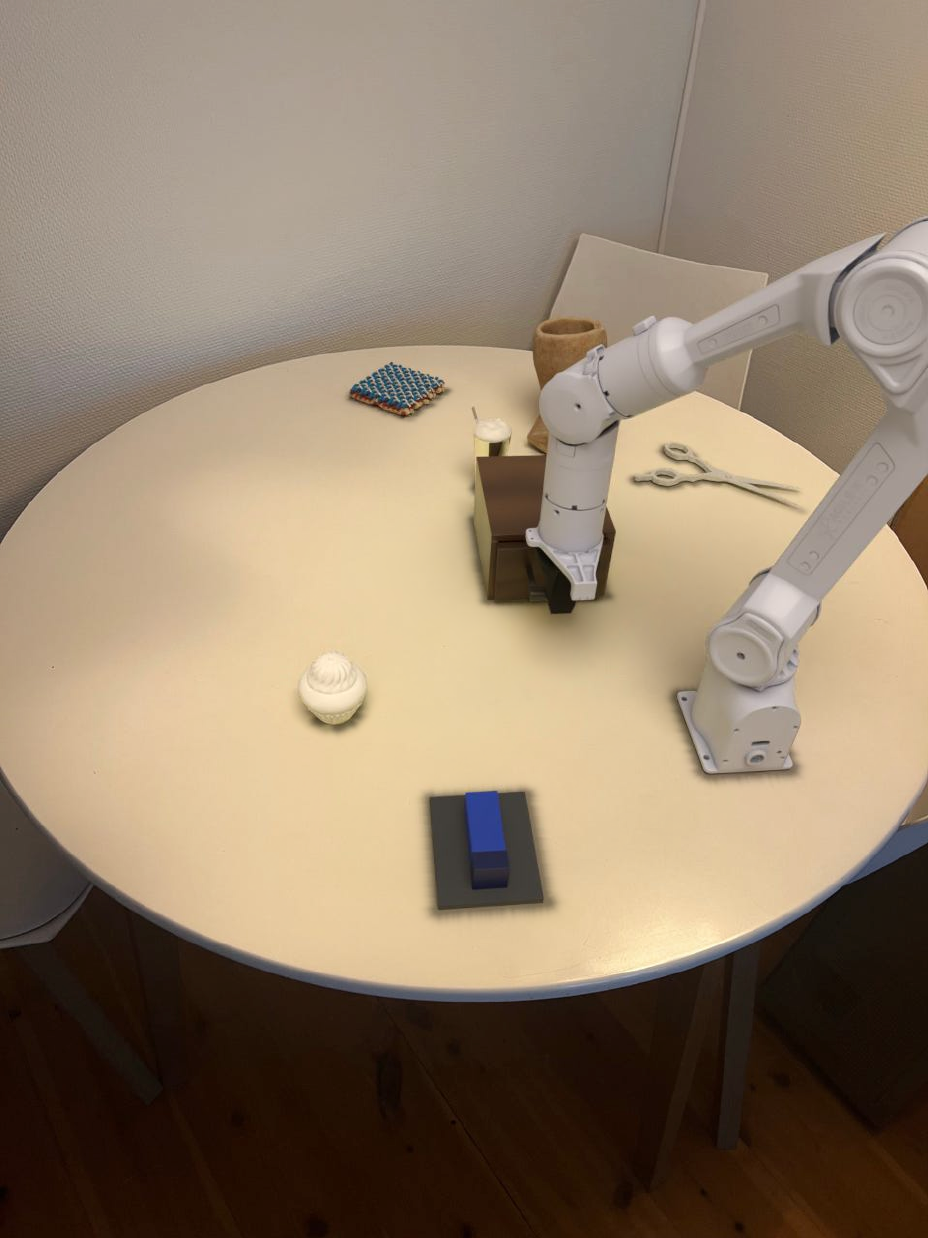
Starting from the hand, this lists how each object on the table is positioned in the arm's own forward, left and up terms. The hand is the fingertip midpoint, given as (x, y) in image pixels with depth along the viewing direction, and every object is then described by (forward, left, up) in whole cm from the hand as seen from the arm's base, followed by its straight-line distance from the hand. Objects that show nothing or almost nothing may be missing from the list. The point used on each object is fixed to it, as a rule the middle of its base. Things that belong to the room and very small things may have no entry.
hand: (559, 609), depth 87 cm
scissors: (+27, -26, -4) cm, 38 cm away
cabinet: (+13, 0, -4) cm, 14 cm away
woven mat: (+51, +14, -4) cm, 54 cm away
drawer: (+9, 0, -3) cm, 10 cm away
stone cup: (+39, -8, -4) cm, 40 cm away
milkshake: (+27, +4, -4) cm, 28 cm away
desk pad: (-24, +10, -4) cm, 26 cm away
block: (-24, +10, -3) cm, 26 cm away
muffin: (-9, +22, -4) cm, 24 cm away
